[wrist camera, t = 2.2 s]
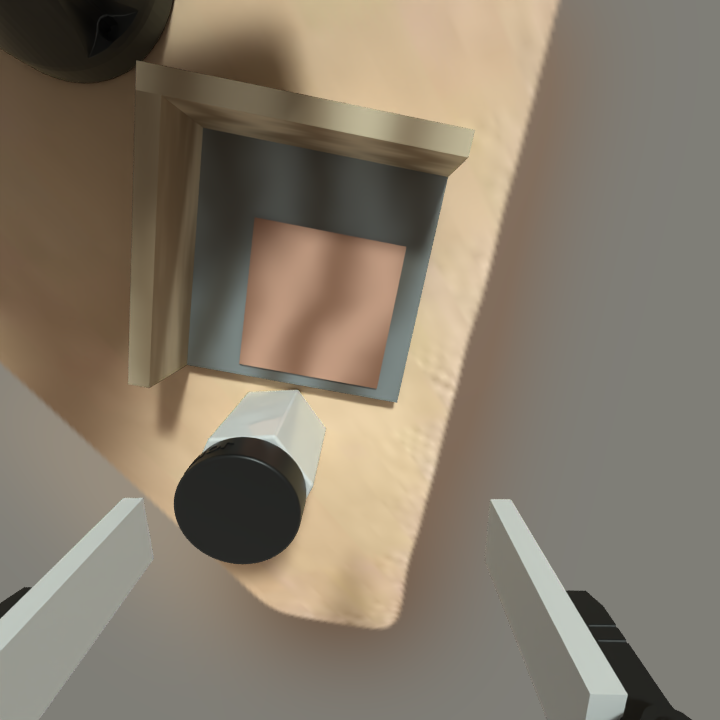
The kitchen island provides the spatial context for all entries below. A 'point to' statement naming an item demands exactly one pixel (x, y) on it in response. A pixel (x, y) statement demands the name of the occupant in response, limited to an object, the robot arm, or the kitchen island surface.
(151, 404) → the kitchen island surface
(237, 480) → the jar
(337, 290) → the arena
